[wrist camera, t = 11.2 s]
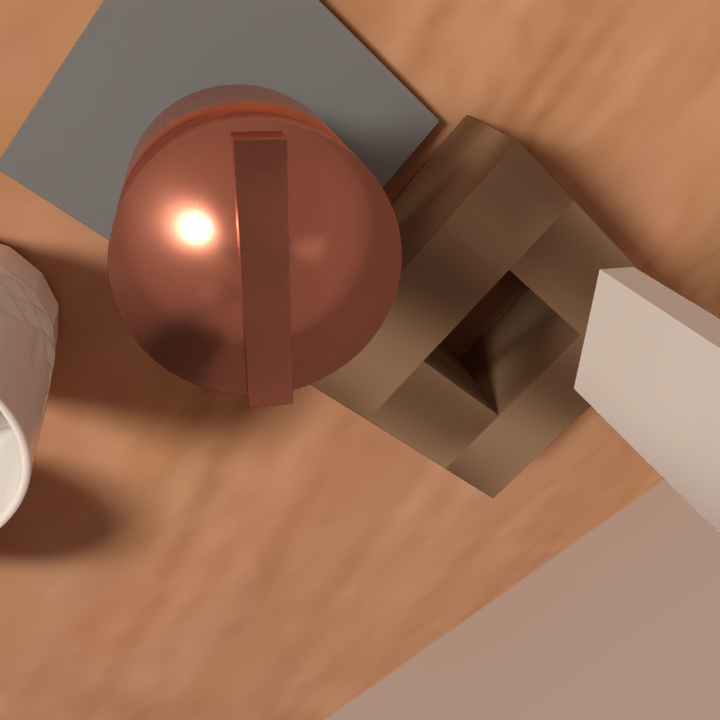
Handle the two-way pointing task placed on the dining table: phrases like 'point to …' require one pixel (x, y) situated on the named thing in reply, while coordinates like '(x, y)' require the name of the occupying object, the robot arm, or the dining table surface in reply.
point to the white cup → (23, 371)
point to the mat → (197, 72)
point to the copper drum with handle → (251, 245)
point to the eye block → (461, 294)
